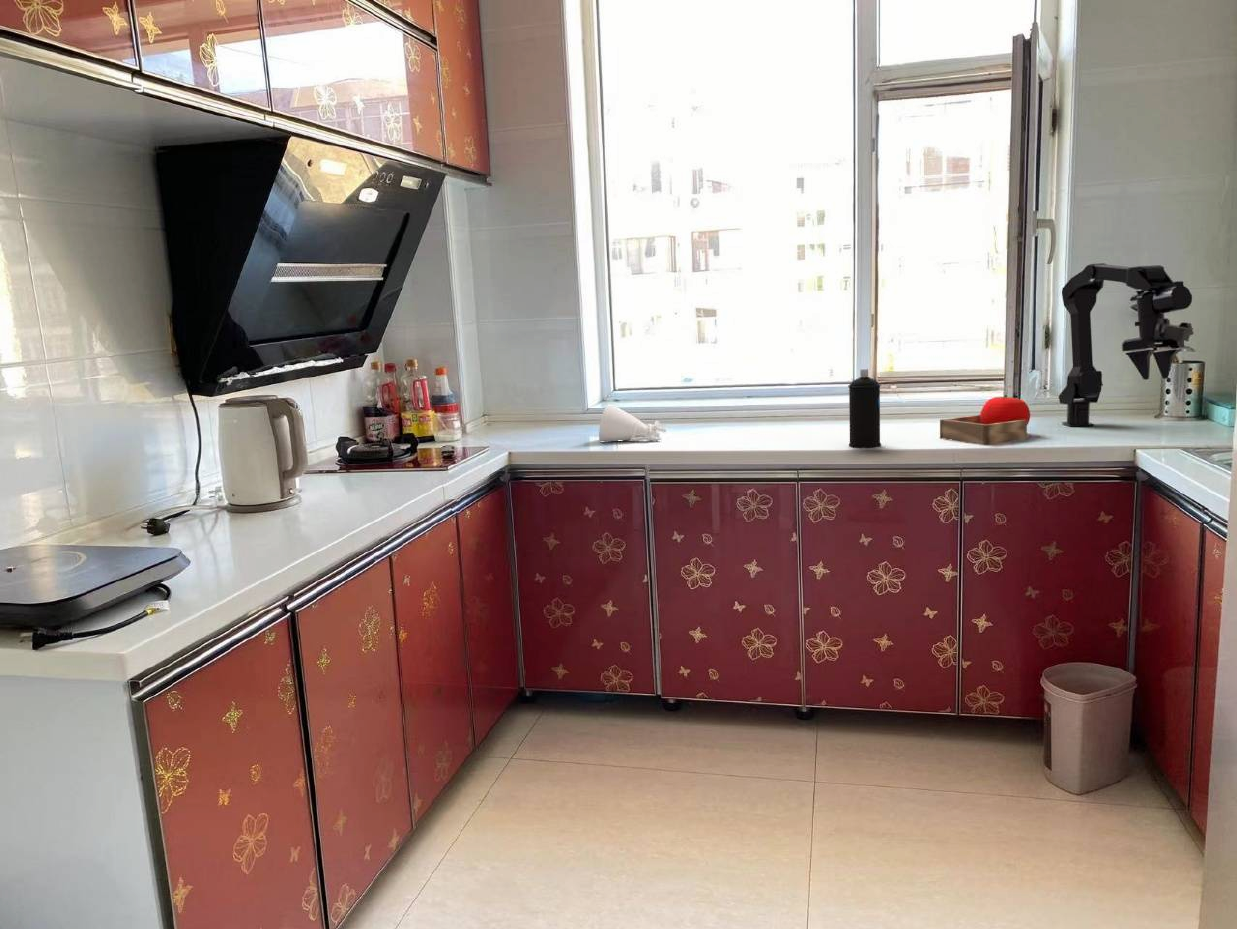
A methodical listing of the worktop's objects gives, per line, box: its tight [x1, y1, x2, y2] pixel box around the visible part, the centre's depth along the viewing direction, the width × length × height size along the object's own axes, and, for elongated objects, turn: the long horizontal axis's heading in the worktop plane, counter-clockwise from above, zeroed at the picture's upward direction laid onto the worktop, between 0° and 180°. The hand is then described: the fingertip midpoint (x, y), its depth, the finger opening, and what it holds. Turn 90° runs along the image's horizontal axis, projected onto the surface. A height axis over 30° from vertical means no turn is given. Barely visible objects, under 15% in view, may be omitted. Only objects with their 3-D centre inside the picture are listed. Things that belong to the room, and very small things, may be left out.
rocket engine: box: [598, 403, 668, 442], centre depth 281 cm, size 12×12×18 cm
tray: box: [939, 414, 1028, 446], centre depth 253 cm, size 14×16×5 cm
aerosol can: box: [847, 368, 882, 449], centre depth 251 cm, size 8×8×20 cm
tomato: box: [979, 394, 1031, 426], centre depth 256 cm, size 11×12×10 cm
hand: (1156, 378), depth 239 cm, fingers open, 9 cm apart
